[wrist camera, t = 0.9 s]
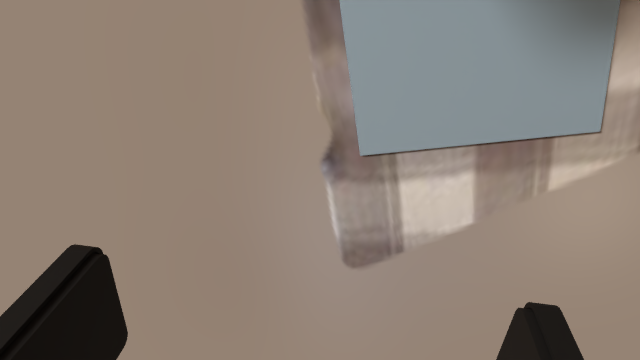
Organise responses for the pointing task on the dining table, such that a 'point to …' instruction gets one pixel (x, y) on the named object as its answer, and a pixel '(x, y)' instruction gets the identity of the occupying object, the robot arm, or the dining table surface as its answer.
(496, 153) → the dining table surface
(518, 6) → the blue mat
